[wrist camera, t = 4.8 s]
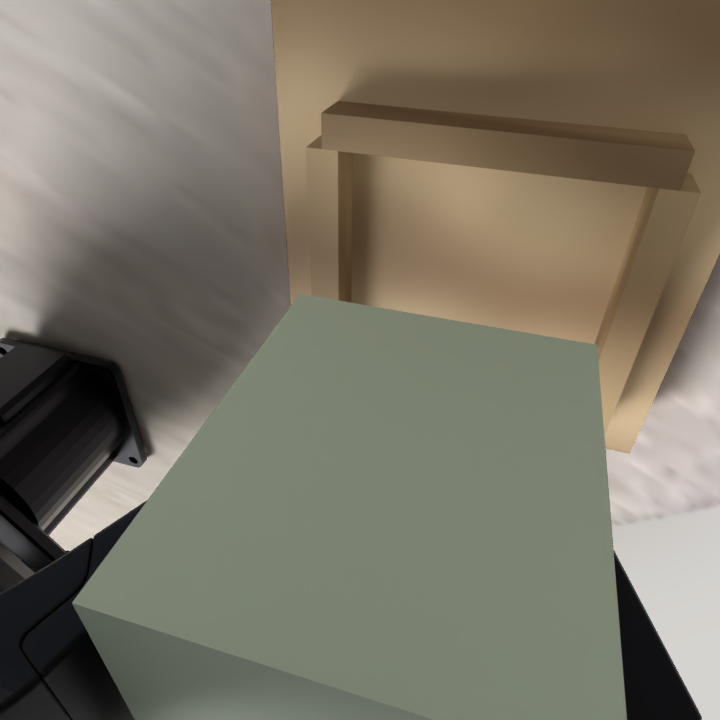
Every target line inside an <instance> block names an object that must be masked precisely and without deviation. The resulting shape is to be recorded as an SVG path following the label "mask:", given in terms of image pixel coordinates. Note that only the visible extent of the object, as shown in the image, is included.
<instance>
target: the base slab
mask: <svg viewBox="0 0 720 720" xmlns="http://www.w3.org/2000/svg"><path fill="white" fill-rule="evenodd" d="M271 13H272V28H273V44H274V59H275V74H276V90H277V105H278V120H279V135H280V151H281V166H282V181H283V197H284V212H285V227H286V242H287V258H288V273H289V288H290V304H291V305H292V304H293V302H294V301H295V300H296V298H297V297H298V296H299V294H304V295H310V296H316V297H321V298H327V299H333V300H339V301H345V302H351V303H356V304H362V305H368V306H374V307H380V308H385V309H391V310H397V311H403V312H409V313H415V314H420V315H426V316H432V317H438V318H444V319H450V320H455V321H461V322H467V323H473V324H479V325H485V326H490V327H496V328H502V329H508V330H514V331H520V332H525V333H531V334H537V335H543V336H549V337H555V338H560V339H566V340H572V341H578V342H584V343H590V344H595V345H597V349H598V362H599V375H600V387H601V400H602V412H603V425H604V437H605V448H606V449H611V450H616V451H620V452H625V453H630V452H631V449H632V447H633V445H634V443H635V440H636V438H637V436H638V434H639V432H640V429H641V427H642V425H643V423H644V421H645V418H646V416H647V414H648V412H649V409H650V407H651V405H652V403H653V401H654V398H655V396H656V394H657V392H658V389H659V387H660V385H661V383H662V381H663V378H664V376H665V374H666V372H667V370H668V367H669V365H670V363H671V361H672V358H673V356H674V354H675V352H676V350H677V347H678V345H679V343H680V341H681V338H682V336H683V334H684V332H685V330H686V327H687V325H688V323H689V321H690V319H691V316H692V314H693V312H694V310H695V307H696V305H697V303H698V301H699V299H700V296H701V294H702V292H703V290H704V287H705V285H706V283H707V281H708V279H709V276H710V274H711V272H712V270H713V268H714V265H715V263H716V261H717V259H718V256H719V254H720V0H271Z"/></svg>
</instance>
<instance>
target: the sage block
mask: <svg viewBox="0 0 720 720" xmlns="http://www.w3.org/2000/svg"><path fill="white" fill-rule="evenodd" d="M72 604H73V606H74V608H75V610H76V612H77V613H78V615H79V617H80V619H81V621H82V623H83V625H84V626H85V628H86V630H87V632H88V634H89V636H90V638H91V639H92V641H93V643H94V645H95V647H96V649H97V651H98V652H99V654H100V656H101V658H102V660H103V662H104V664H105V665H106V667H107V669H108V671H109V673H110V675H111V677H112V678H113V680H114V682H115V684H116V686H117V688H118V689H119V691H120V693H121V695H122V697H123V699H124V701H125V702H126V704H127V706H128V708H129V710H130V712H131V714H132V715H133V717H134V719H135V720H627V714H626V702H625V689H624V676H623V664H622V651H621V639H620V626H619V614H618V601H617V588H616V576H615V563H614V551H613V539H612V526H611V513H610V500H609V488H608V475H607V463H606V450H605V437H604V425H603V412H602V400H601V387H600V375H599V362H598V349H597V345H595V344H590V343H584V342H578V341H572V340H566V339H560V338H555V337H549V336H543V335H537V334H531V333H525V332H520V331H514V330H508V329H502V328H496V327H490V326H485V325H479V324H473V323H467V322H461V321H455V320H450V319H444V318H438V317H432V316H426V315H420V314H415V313H409V312H403V311H397V310H391V309H385V308H380V307H374V306H368V305H362V304H356V303H351V302H345V301H339V300H333V299H327V298H321V297H316V296H310V295H304V294H299V296H298V297H297V298H296V300H295V301H294V302H293V304H292V305H291V306H290V308H289V309H288V311H287V312H286V313H285V315H284V316H283V317H282V319H281V320H280V321H279V323H278V324H277V325H276V327H275V328H274V330H273V331H272V332H271V334H270V335H269V336H268V338H267V339H266V340H265V342H264V343H263V344H262V346H261V347H260V349H259V350H258V351H257V353H256V354H255V355H254V357H253V358H252V359H251V361H250V362H249V363H248V365H247V366H246V368H245V369H244V370H243V372H242V373H241V374H240V376H239V377H238V378H237V380H236V381H235V382H234V384H233V385H232V387H231V388H230V389H229V391H228V392H227V393H226V395H225V396H224V397H223V399H222V400H221V401H220V403H219V404H218V406H217V407H216V408H215V410H214V411H213V412H212V414H211V415H210V416H209V418H208V419H207V420H206V422H205V423H204V424H203V426H202V427H201V429H200V430H199V431H198V433H197V434H196V435H195V437H194V438H193V439H192V441H191V442H190V443H189V445H188V446H187V448H186V449H185V450H184V452H183V453H182V454H181V456H180V457H179V458H178V460H177V461H176V462H175V464H174V465H173V467H172V468H171V469H170V471H169V472H168V473H167V475H166V476H165V477H164V479H163V480H162V481H161V483H160V484H159V486H158V487H157V488H156V490H155V491H154V492H153V494H152V495H151V496H150V498H149V499H148V500H147V502H146V503H145V505H144V506H143V507H142V509H141V510H140V511H139V513H138V514H137V515H136V517H135V518H134V519H133V521H132V522H131V524H130V525H129V526H128V528H127V529H126V530H125V532H124V533H123V534H122V536H121V537H120V538H119V540H118V541H117V542H116V544H115V545H114V547H113V548H112V549H111V551H110V552H109V553H108V555H107V556H106V557H105V559H104V560H103V561H102V563H101V564H100V566H99V567H98V568H97V570H96V571H95V572H94V574H93V575H92V576H91V578H90V579H89V580H88V582H87V583H86V585H85V586H84V587H83V589H82V590H81V591H80V593H79V594H78V595H77V597H76V598H75V599H74V601H73V602H72Z"/></svg>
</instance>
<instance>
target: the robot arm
mask: <svg viewBox="0 0 720 720" xmlns="http://www.w3.org/2000/svg"><path fill="white" fill-rule="evenodd" d="M146 460H147V456H146V453H145V450H144V447H143V443H142V440H141V437H140V434H139V430H138V427H137V424H136V421H135V417H134V414H133V411H132V408H131V404H130V401H129V398H128V395H127V391H126V388H125V385H124V382H123V378H122V375H121V372H120V370H119V368H118V367H117V366H116V365H115V364H114V363H112V362H110V361H107V360H102V359H98V358H93V357H89V356H84V355H80V354H75V353H71V352H66V351H62V350H57V349H53V348H48V347H44V346H39V345H35V344H30V343H26V342H21V341H17V340H12V339H8V338H2V339H0V720H135V719H134V717H133V715H132V714H131V712H130V710H129V708H128V706H127V704H126V702H125V701H124V699H123V697H122V695H121V693H120V691H119V689H118V688H117V686H116V684H115V682H114V680H113V678H112V677H111V675H110V673H109V671H108V669H107V667H106V665H105V664H104V662H103V660H102V658H101V656H100V654H99V652H98V651H97V649H96V647H95V645H94V643H93V641H92V639H91V638H90V636H89V634H88V632H87V630H86V628H85V626H84V625H83V623H82V621H81V619H80V617H79V615H78V613H77V612H76V610H75V608H74V606H73V604H72V602H73V601H74V599H75V598H76V597H77V595H78V594H79V593H80V591H81V590H82V589H83V587H84V586H85V585H86V583H87V582H88V580H89V579H90V578H91V576H92V575H93V574H94V572H95V571H96V570H97V568H98V567H99V566H100V564H101V563H102V561H103V560H104V559H105V557H106V556H107V555H108V553H109V552H110V551H111V549H112V548H113V547H114V545H115V544H116V542H117V541H118V540H119V538H120V537H121V536H122V534H123V533H124V532H125V530H126V529H127V528H128V526H129V525H130V524H131V522H132V521H133V519H134V518H135V517H136V515H137V514H138V513H139V511H140V510H141V509H142V507H143V506H144V505H145V503H146V502H147V501H145V502H144V503H142V504H141V505H139V506H138V507H136V508H135V509H133V510H132V511H130V512H129V513H127V514H126V515H124V516H123V517H121V518H120V519H118V520H117V521H115V522H114V523H112V524H111V525H109V526H108V527H106V528H105V529H103V530H102V531H100V532H99V533H97V534H96V535H95V536H94V538H93V539H92V538H90V539H88V540H86V541H85V542H83V543H82V544H80V545H79V546H77V547H76V548H74V549H73V550H71V551H70V552H69V551H65V550H64V549H63V548H62V547H60V546H59V545H58V544H57V543H56V542H55V541H54V540H53V539H52V538H51V537H50V536H49V534H50V533H51V532H52V531H53V530H54V529H55V528H56V526H57V525H58V524H59V523H60V522H61V521H62V519H63V518H64V517H65V516H66V515H67V514H68V513H69V511H70V510H71V509H72V508H73V507H74V506H75V504H76V503H77V502H78V501H79V500H80V499H81V498H82V496H83V495H84V494H85V493H86V492H87V491H88V489H89V488H90V487H91V486H92V485H93V484H94V483H95V481H96V480H97V479H98V478H99V477H100V476H101V474H102V473H103V472H104V471H105V470H106V469H107V468H108V466H109V465H110V464H111V463H112V462H113V461H115V462H119V463H123V464H126V465H130V466H134V467H141V466H142V465H143V463H144V462H145V461H146ZM613 551H614V549H613ZM614 563H615V576H616V588H617V601H618V614H619V626H620V639H621V651H622V664H623V676H624V689H625V702H626V714H627V720H702V717H701V715H700V713H699V711H698V709H697V707H696V705H695V703H694V701H693V700H692V698H691V696H690V694H689V692H688V690H687V688H686V686H685V685H684V682H683V680H682V678H681V677H680V675H679V673H678V671H677V669H676V667H675V665H674V664H673V661H672V660H671V658H670V656H669V654H668V652H667V650H666V648H665V646H664V645H663V642H662V641H661V639H660V637H659V635H658V633H657V631H656V629H655V627H654V625H653V624H652V622H651V620H650V618H649V616H648V614H647V612H646V610H645V609H644V606H643V604H642V603H641V601H640V599H639V597H638V595H637V593H636V591H635V589H634V587H633V586H632V584H631V582H630V580H629V578H628V576H627V574H626V572H625V570H624V568H623V567H622V565H621V563H620V561H619V559H618V557H617V555H616V553H615V551H614Z"/></svg>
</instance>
